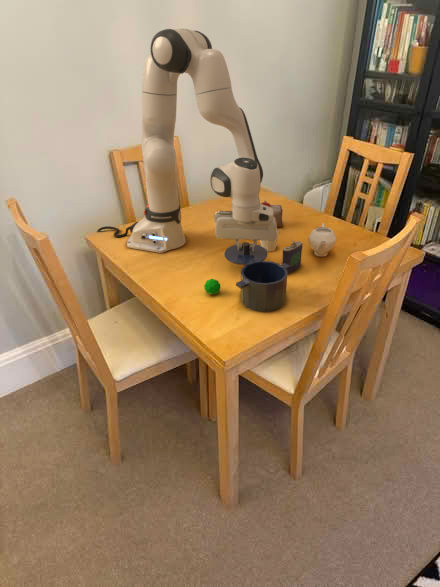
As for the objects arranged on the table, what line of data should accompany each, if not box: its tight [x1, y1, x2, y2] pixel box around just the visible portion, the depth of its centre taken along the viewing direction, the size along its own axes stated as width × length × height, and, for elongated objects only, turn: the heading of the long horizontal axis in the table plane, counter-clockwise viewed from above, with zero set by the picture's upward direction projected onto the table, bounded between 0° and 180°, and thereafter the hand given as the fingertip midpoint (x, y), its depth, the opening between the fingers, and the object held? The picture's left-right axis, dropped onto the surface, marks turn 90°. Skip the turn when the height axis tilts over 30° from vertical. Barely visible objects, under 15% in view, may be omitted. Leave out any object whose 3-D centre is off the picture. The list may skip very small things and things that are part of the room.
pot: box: [235, 260, 291, 313], centre depth 126 cm, size 14×19×10 cm
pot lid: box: [223, 241, 269, 266], centre depth 141 cm, size 15×15×5 cm
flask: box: [281, 240, 303, 276], centre depth 140 cm, size 9×3×11 cm, turn 134°
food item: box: [260, 200, 284, 228], centre depth 171 cm, size 14×8×10 cm, turn 91°
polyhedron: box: [203, 278, 221, 295], centre depth 130 cm, size 5×5×5 cm
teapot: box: [308, 222, 337, 257], centre depth 149 cm, size 10×20×9 cm, turn 168°
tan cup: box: [259, 229, 280, 252], centre depth 155 cm, size 7×7×7 cm
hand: (245, 250), depth 141 cm, fingers closed on pot lid, 2 cm apart
